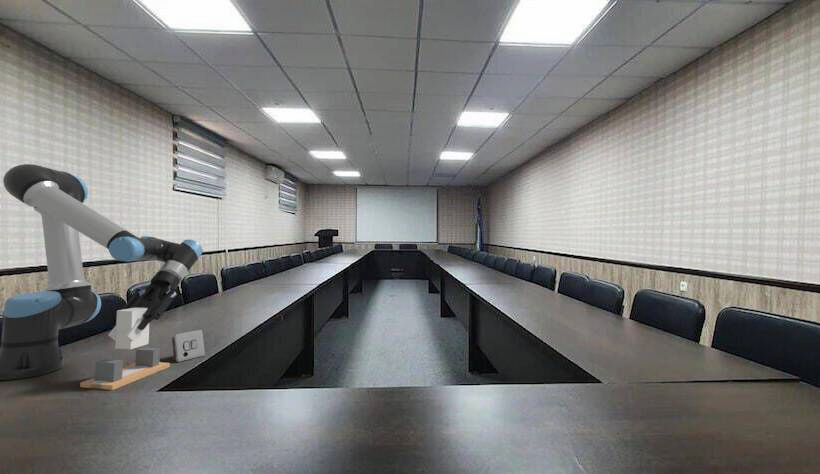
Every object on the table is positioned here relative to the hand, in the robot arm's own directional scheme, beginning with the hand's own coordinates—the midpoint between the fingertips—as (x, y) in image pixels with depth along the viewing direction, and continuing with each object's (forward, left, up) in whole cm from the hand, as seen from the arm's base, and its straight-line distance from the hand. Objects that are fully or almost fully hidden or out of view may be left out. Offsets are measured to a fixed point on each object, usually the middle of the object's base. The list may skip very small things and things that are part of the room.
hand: (120, 338), depth 100 cm
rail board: (0, +4, -12) cm, 13 cm away
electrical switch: (+3, +22, -12) cm, 26 cm away
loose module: (0, +4, -3) cm, 5 cm away
